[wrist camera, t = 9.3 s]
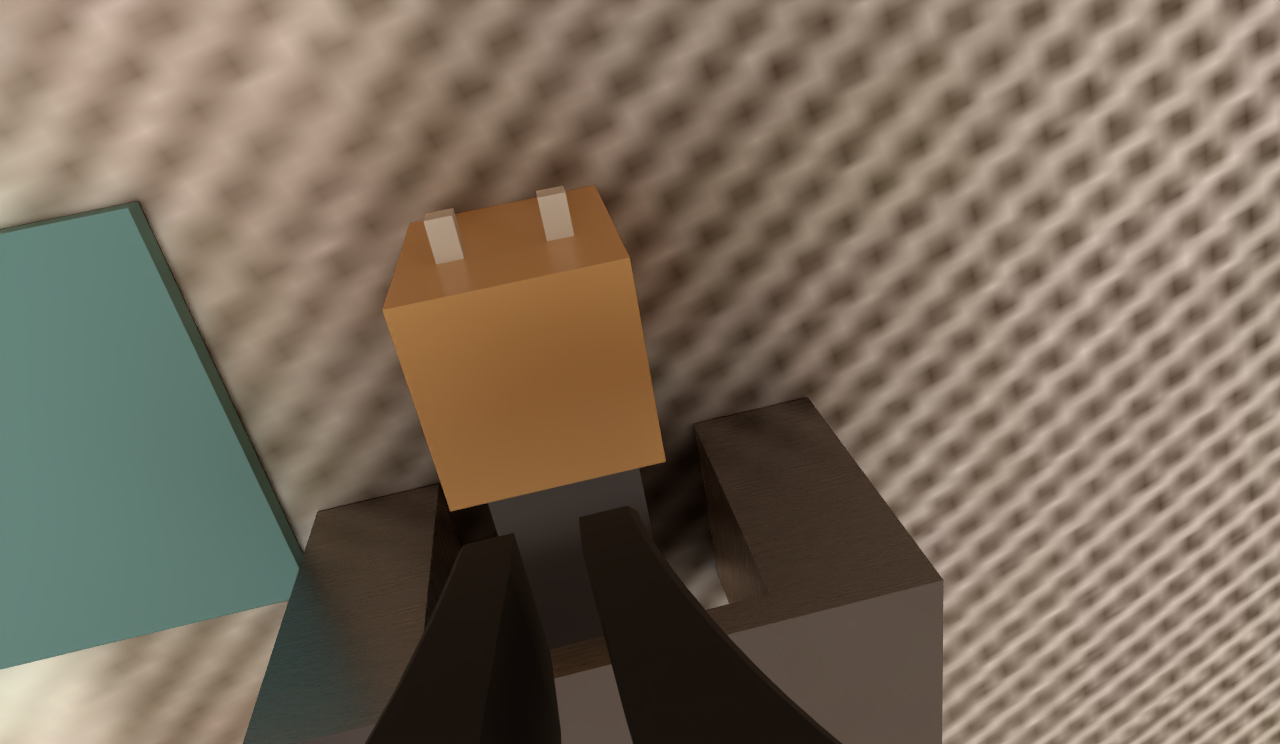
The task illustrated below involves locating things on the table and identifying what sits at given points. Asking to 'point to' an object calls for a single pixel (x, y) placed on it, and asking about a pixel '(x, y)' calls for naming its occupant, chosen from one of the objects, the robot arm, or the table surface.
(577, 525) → the push rod
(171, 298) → the mat
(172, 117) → the table surface
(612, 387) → the plug
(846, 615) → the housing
